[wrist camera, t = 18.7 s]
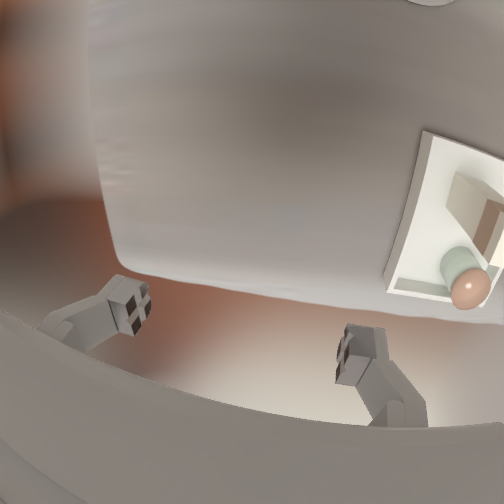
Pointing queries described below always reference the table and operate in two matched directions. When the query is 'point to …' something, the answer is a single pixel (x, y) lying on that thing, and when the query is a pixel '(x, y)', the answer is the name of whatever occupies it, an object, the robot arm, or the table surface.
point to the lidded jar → (464, 278)
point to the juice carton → (479, 215)
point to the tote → (437, 218)
